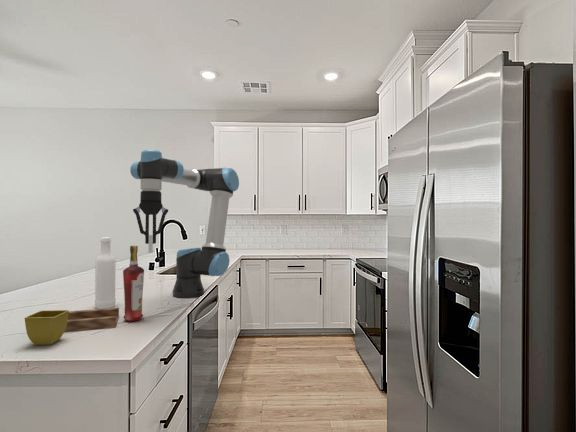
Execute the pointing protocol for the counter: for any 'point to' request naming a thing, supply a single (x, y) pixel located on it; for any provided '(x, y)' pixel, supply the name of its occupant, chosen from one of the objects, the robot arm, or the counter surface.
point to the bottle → (105, 277)
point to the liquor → (133, 288)
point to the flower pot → (46, 326)
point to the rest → (92, 319)
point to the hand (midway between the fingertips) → (150, 252)
